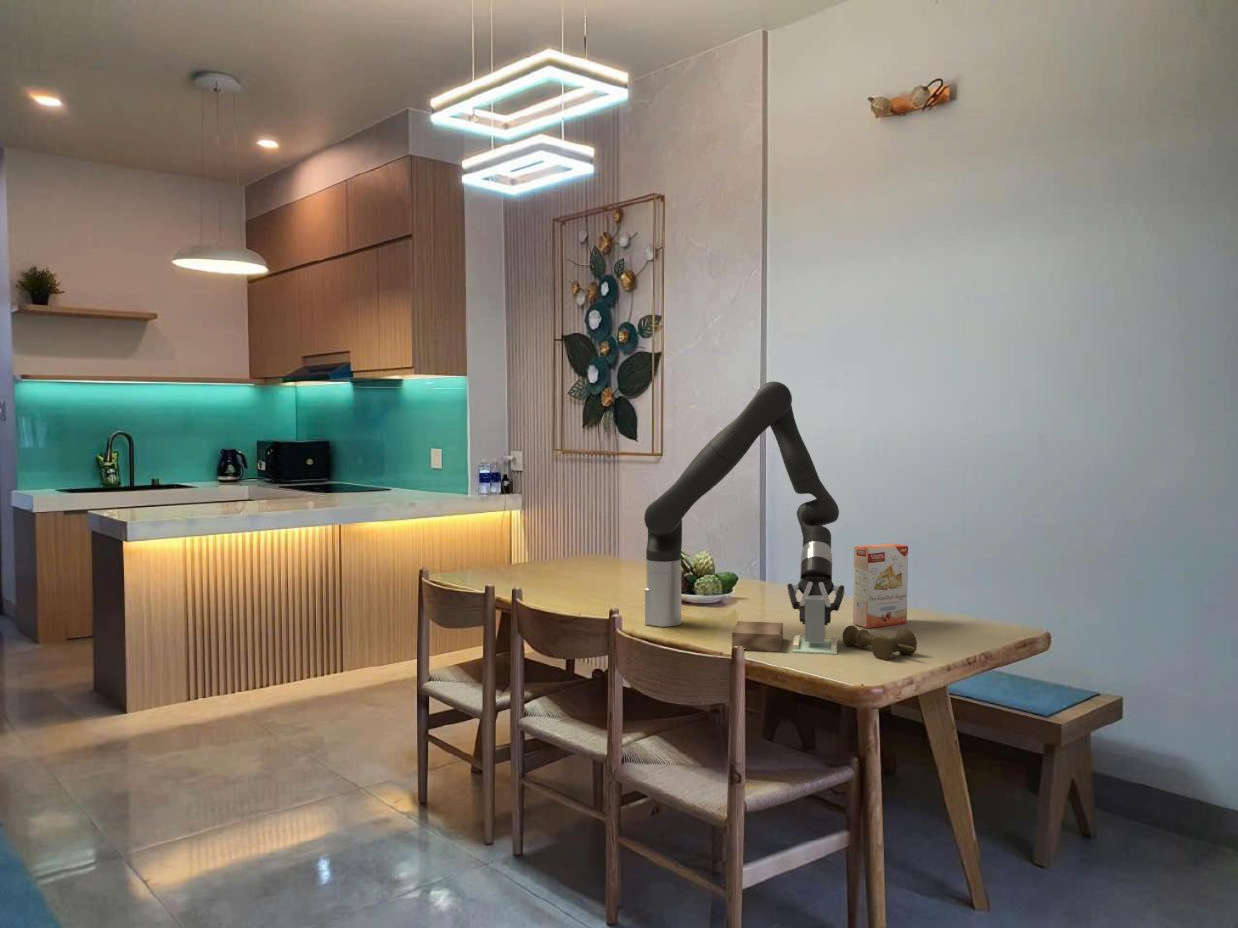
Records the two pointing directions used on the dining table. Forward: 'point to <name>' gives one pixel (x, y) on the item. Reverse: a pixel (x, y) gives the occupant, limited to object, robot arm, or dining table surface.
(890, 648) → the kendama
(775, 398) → the robot arm
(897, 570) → the cracker box
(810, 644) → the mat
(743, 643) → the riser
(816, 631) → the gray rectangular block
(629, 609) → the dining table surface
